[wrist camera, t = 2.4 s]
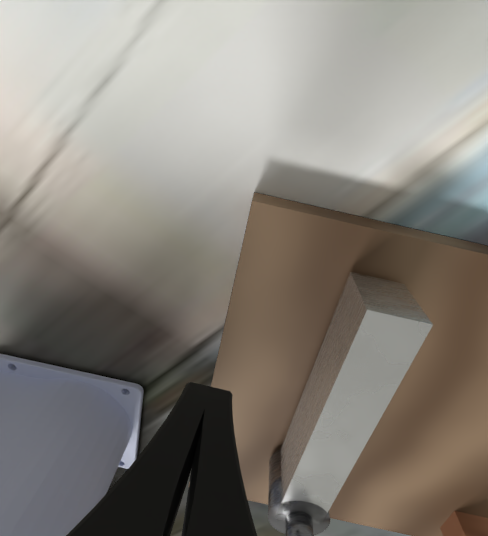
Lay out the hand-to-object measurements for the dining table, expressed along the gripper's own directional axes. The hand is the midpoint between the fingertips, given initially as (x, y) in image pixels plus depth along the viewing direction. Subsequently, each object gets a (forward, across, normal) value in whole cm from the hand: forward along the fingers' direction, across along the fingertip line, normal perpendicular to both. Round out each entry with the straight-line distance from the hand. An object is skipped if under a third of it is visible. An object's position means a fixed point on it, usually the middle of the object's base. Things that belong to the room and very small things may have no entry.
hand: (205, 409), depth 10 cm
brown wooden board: (+8, -10, +5) cm, 14 cm away
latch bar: (+6, -6, +4) cm, 10 cm away
